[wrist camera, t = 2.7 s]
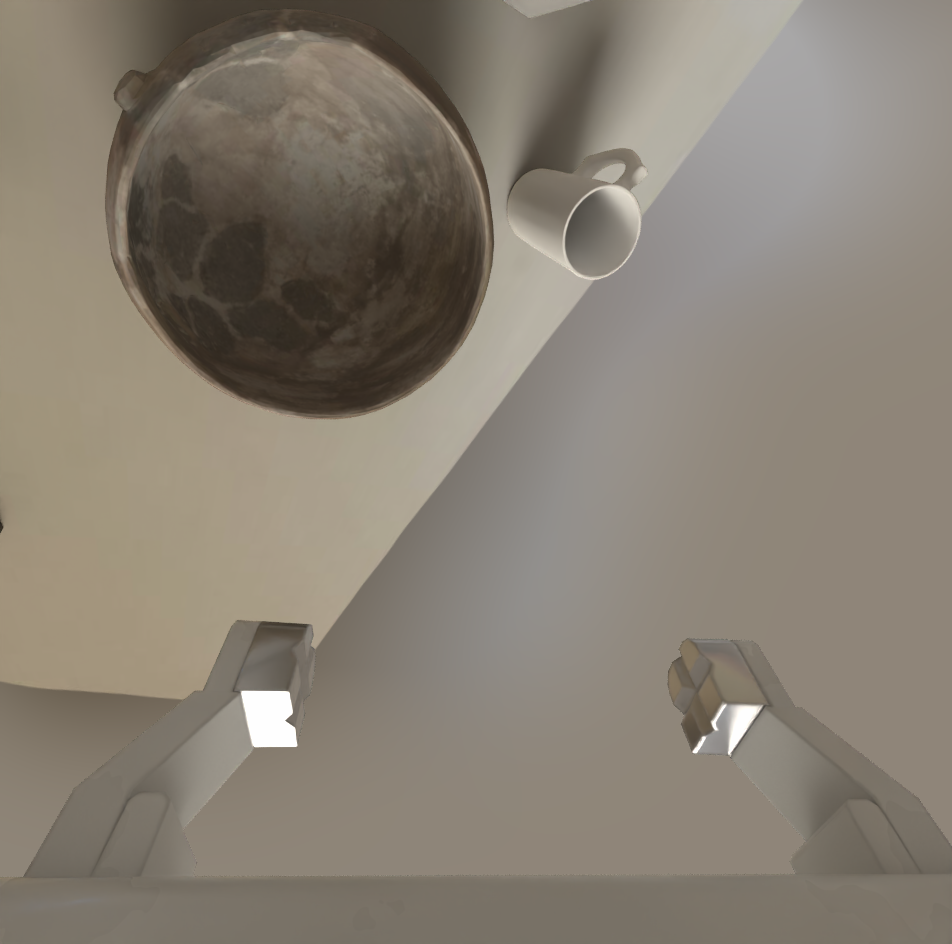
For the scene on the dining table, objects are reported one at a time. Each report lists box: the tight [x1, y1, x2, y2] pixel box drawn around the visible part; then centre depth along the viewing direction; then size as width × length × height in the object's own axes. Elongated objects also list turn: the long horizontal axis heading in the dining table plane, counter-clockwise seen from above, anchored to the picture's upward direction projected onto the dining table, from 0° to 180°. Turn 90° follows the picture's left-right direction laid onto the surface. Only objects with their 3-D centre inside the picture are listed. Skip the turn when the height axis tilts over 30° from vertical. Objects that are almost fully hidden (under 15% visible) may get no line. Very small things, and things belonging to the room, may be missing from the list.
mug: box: [507, 148, 648, 279], centre depth 44 cm, size 10×7×12 cm, turn 137°
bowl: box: [105, 9, 494, 419], centre depth 37 cm, size 24×24×15 cm
